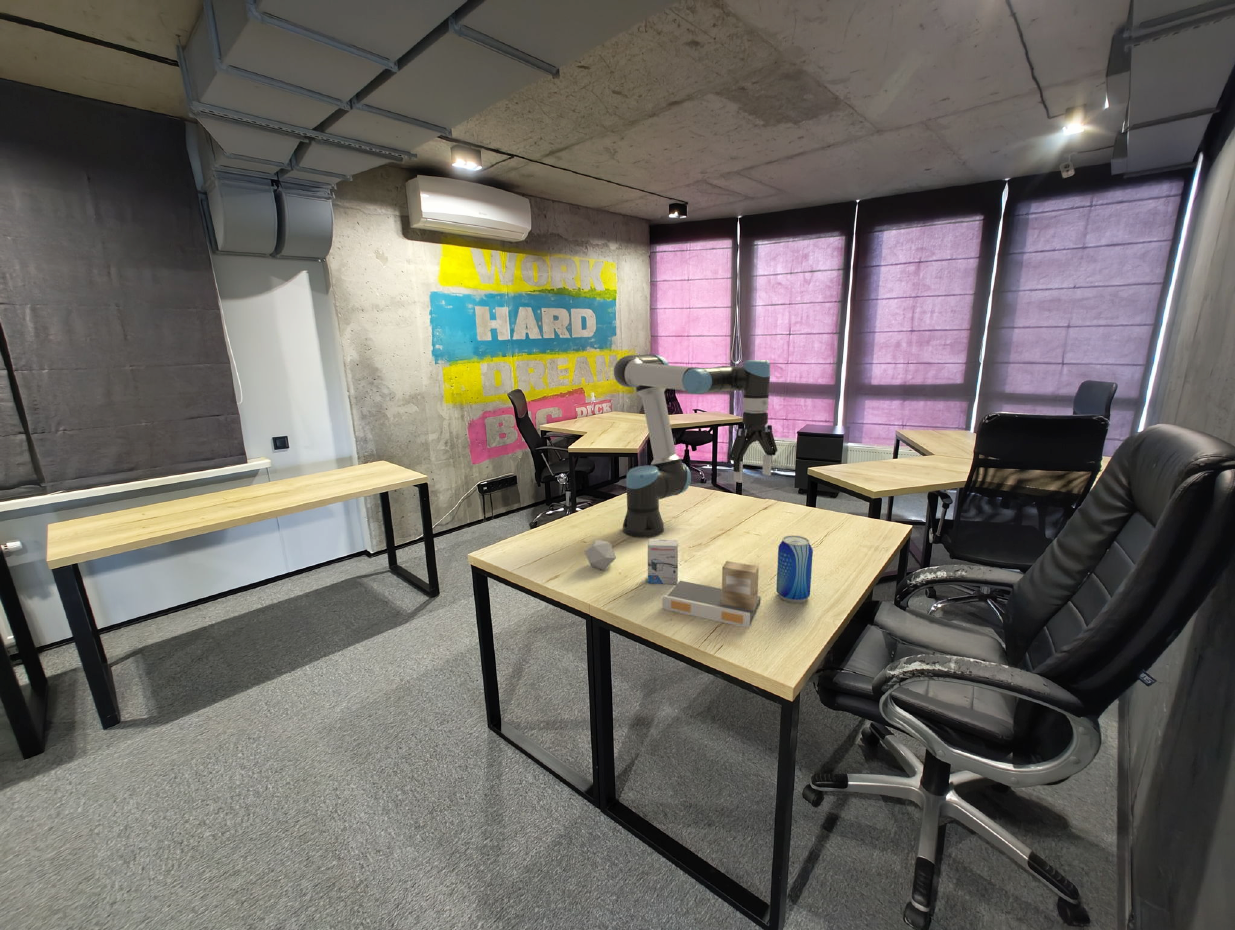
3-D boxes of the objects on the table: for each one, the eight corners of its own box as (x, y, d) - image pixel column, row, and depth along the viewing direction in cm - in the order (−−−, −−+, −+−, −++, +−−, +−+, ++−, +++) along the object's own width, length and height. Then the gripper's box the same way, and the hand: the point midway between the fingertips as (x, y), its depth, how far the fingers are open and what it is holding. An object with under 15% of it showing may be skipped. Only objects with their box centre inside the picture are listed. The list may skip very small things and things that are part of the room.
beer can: (771, 590, 135) (773, 535, 131) (801, 588, 135) (804, 533, 132) (783, 605, 126) (786, 547, 123) (815, 603, 127) (819, 545, 124)
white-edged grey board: (662, 609, 126) (661, 596, 126) (680, 587, 138) (680, 575, 137) (748, 628, 117) (749, 615, 116) (760, 603, 128) (760, 590, 127)
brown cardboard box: (721, 604, 124) (722, 567, 122) (725, 596, 128) (726, 560, 125) (753, 610, 120) (755, 572, 118) (757, 603, 124) (758, 566, 122)
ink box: (647, 584, 140) (646, 545, 138) (648, 576, 145) (647, 538, 143) (678, 584, 139) (677, 545, 137) (677, 576, 144) (677, 539, 142)
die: (621, 567, 153) (613, 536, 157) (612, 564, 145) (604, 532, 149) (596, 575, 155) (589, 545, 159) (586, 573, 147) (578, 541, 150)
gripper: (737, 416, 142) (734, 487, 147) (791, 408, 156) (787, 474, 161) (717, 413, 148) (716, 482, 153) (771, 406, 162) (768, 469, 167)
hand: (752, 478), depth 157 cm, fingers open, 13 cm apart
